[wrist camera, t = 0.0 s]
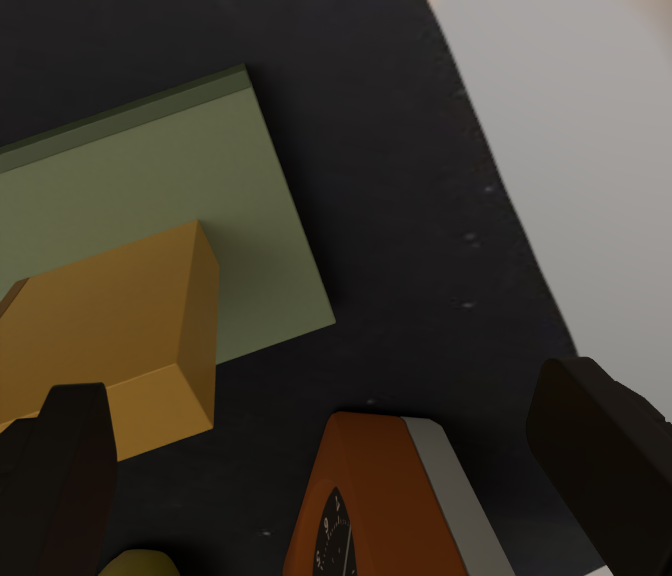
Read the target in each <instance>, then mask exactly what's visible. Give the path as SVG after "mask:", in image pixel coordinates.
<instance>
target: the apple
mask: <svg viewBox="0 0 672 576" xmlns="http://www.w3.org/2000/svg"><path fill="white" fill-rule="evenodd" d="M98 576H180V574H179V571H178V570H177V568H176V566H175V565H174V563H173V561H172V560H171V559H170V557H168V556H167V555H166V554H165V553H163V552H161V551H154V550H145V549H133V550H127V551H124V552H123V553H122V554H120V555H119V556H118V557H116V558H115V559H113V560H112V561H111V562H110V563H109V564H108V565H107V566H106V567H105V568H104V569H103V570H102V571H101V573H100V574H99V575H98Z"/></svg>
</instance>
